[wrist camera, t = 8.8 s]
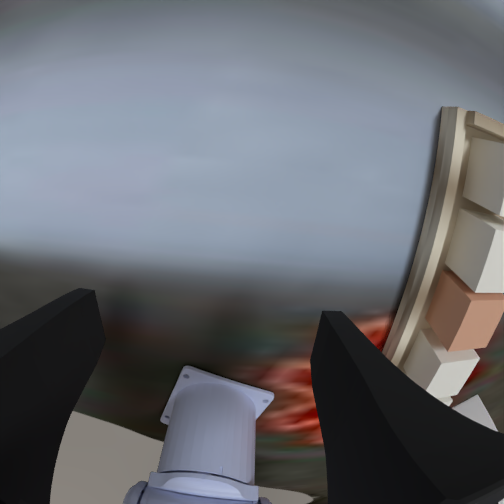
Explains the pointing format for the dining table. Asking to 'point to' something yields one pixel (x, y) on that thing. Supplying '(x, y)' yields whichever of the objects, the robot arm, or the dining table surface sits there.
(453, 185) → the rack
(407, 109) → the dining table surface
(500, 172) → the cream block
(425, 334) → the cream block
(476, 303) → the block terracotta
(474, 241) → the cream block
